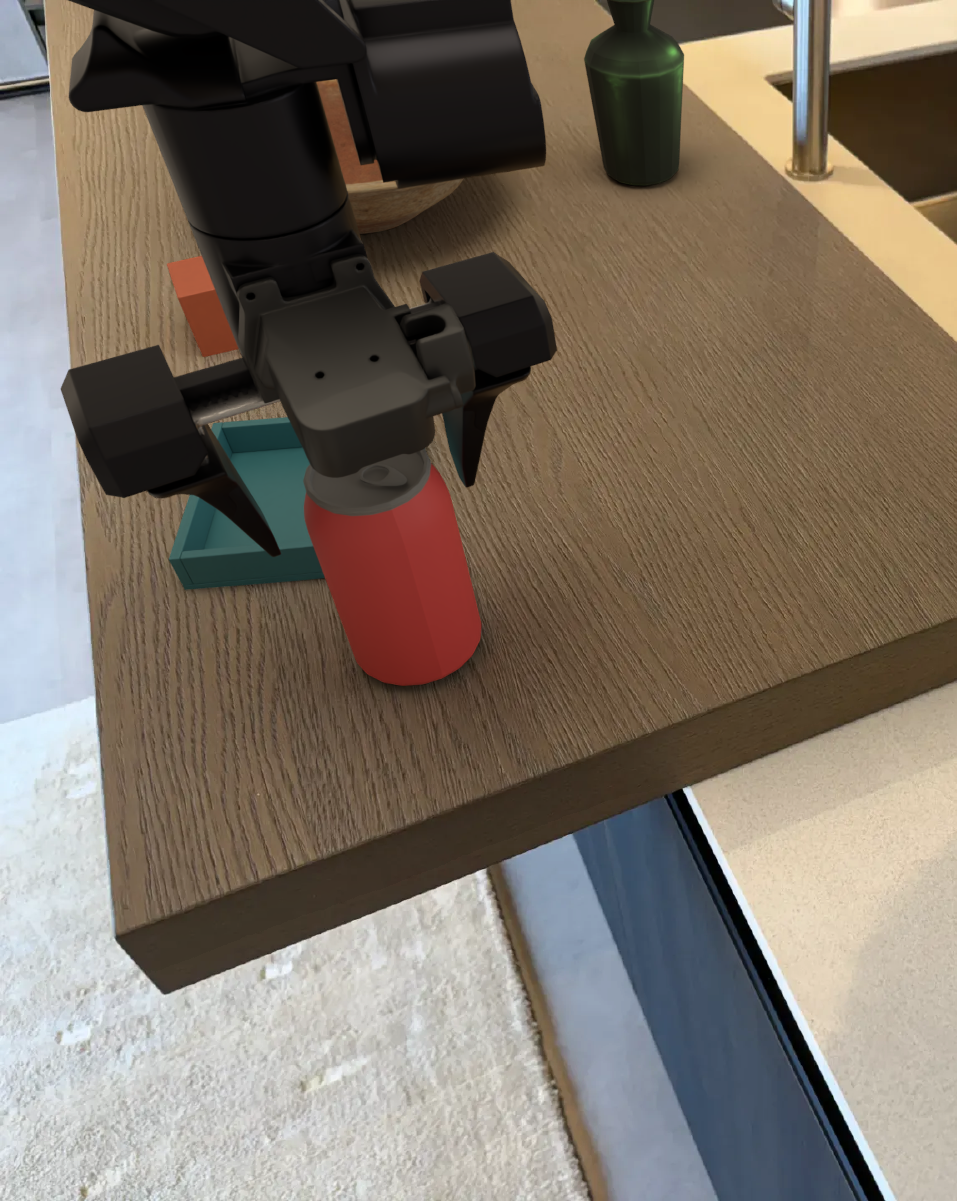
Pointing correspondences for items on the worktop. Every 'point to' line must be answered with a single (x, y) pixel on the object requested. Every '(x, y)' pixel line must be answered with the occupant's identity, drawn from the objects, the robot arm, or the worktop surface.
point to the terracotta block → (201, 306)
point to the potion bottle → (636, 95)
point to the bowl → (374, 177)
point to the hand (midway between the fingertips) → (374, 515)
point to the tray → (275, 480)
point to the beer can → (395, 568)
